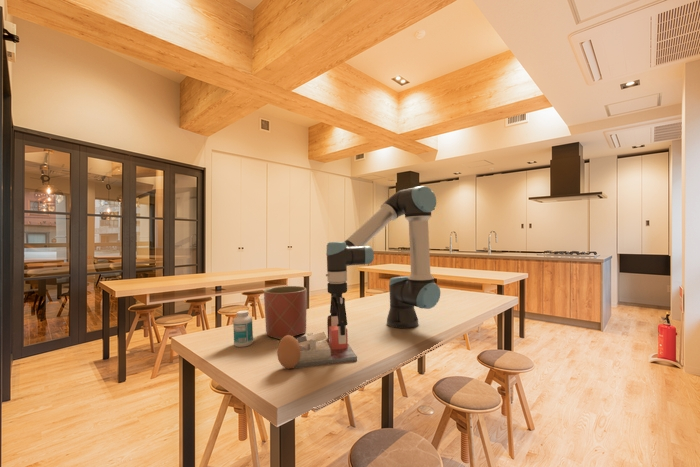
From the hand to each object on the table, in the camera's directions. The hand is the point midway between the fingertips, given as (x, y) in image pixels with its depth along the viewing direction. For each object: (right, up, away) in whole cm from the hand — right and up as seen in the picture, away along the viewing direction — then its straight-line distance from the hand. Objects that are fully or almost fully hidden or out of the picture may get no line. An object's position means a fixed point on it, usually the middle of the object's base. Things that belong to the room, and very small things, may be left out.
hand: (338, 337), depth 121 cm
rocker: (-9, +2, -8) cm, 13 cm away
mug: (0, -5, +12) cm, 13 cm away
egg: (-16, -5, -16) cm, 23 cm away
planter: (-24, -6, +23) cm, 34 cm away
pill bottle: (-39, -6, +9) cm, 41 cm away
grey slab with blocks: (-6, -5, -6) cm, 9 cm away
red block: (0, -3, 0) cm, 3 cm away
